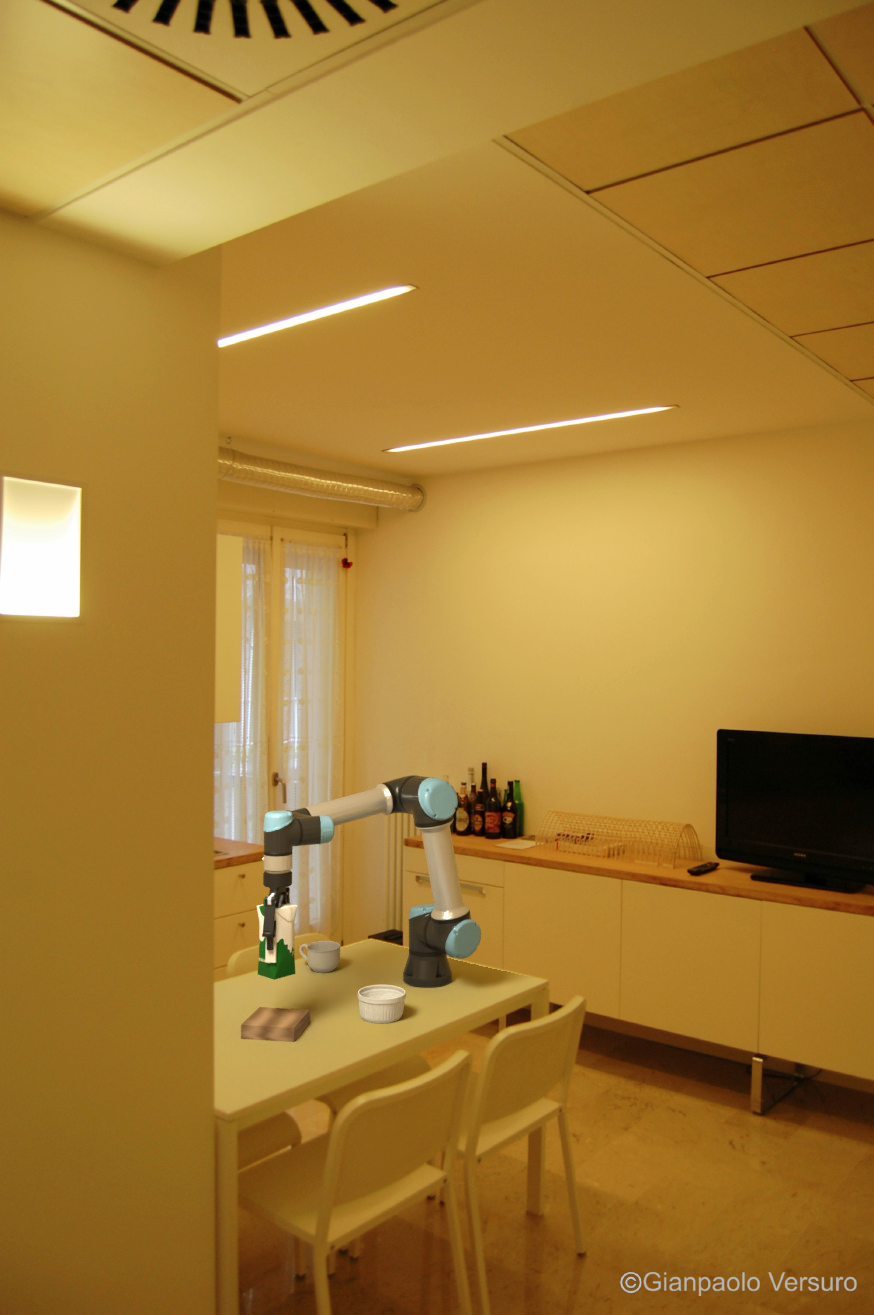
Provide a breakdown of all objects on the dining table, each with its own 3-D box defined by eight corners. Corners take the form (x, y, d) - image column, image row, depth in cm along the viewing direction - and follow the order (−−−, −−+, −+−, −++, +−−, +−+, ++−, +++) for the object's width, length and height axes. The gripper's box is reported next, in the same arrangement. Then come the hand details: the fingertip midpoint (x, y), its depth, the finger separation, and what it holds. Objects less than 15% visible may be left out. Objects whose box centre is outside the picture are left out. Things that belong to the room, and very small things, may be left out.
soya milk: (252, 974, 251) (253, 897, 251) (279, 967, 257) (280, 892, 258) (273, 981, 245) (274, 902, 246) (300, 974, 252) (301, 897, 252)
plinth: (309, 1025, 256) (309, 1010, 256) (293, 1044, 242) (293, 1028, 243) (259, 1022, 258) (259, 1007, 259) (240, 1040, 245) (241, 1024, 245)
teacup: (347, 968, 307) (347, 943, 308) (325, 977, 298) (326, 951, 298) (313, 962, 315) (313, 937, 315) (291, 970, 305) (291, 944, 306)
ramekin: (414, 1014, 264) (415, 989, 264) (388, 1029, 252) (388, 1002, 253) (375, 1006, 271) (375, 981, 271) (347, 1020, 259) (347, 994, 259)
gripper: (277, 863, 263) (276, 945, 262) (249, 878, 242) (248, 968, 241) (303, 863, 262) (302, 947, 261) (278, 879, 241) (277, 969, 240)
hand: (276, 957), depth 251 cm, fingers closed on soya milk, 9 cm apart
